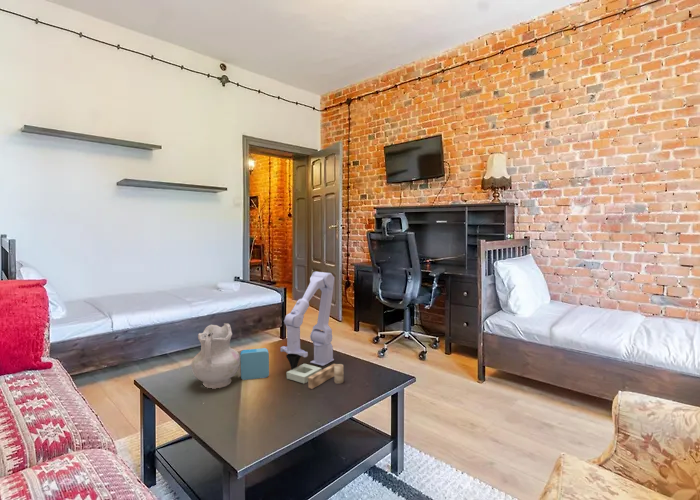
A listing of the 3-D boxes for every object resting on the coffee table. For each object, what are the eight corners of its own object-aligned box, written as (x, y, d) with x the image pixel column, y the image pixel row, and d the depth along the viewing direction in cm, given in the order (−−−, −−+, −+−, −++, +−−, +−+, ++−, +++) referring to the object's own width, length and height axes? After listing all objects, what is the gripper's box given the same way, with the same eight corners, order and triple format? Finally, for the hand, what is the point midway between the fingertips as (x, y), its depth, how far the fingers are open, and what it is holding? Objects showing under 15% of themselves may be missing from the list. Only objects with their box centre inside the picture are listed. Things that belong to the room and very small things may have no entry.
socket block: (304, 369, 176) (304, 363, 176) (321, 374, 171) (321, 367, 171) (286, 378, 166) (286, 372, 166) (304, 383, 161) (304, 377, 161)
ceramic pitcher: (239, 394, 154) (243, 333, 152) (187, 398, 148) (190, 334, 146) (238, 374, 174) (241, 320, 173) (192, 376, 168) (195, 320, 167)
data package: (268, 373, 172) (268, 347, 171) (269, 377, 168) (268, 350, 167) (240, 376, 169) (240, 350, 168) (240, 380, 165) (240, 353, 164)
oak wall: (333, 373, 172) (333, 363, 172) (337, 374, 171) (337, 364, 171) (308, 387, 157) (308, 377, 157) (312, 389, 156) (312, 378, 156)
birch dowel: (337, 378, 166) (337, 363, 166) (345, 381, 164) (345, 365, 164) (332, 382, 163) (332, 366, 162) (340, 384, 161) (340, 368, 160)
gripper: (275, 339, 171) (276, 369, 172) (300, 345, 163) (300, 376, 165) (286, 335, 177) (286, 364, 178) (310, 341, 169) (310, 370, 170)
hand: (294, 369), depth 172 cm, fingers closed
